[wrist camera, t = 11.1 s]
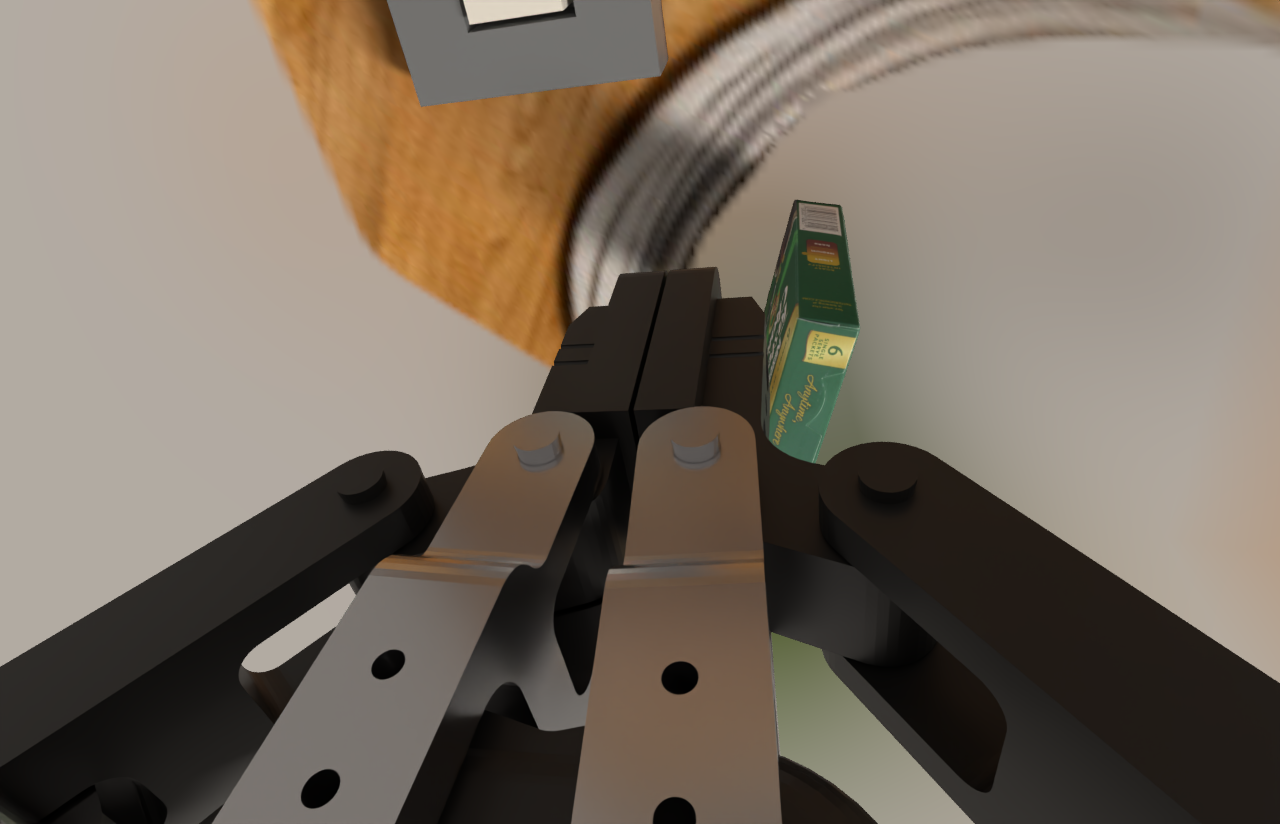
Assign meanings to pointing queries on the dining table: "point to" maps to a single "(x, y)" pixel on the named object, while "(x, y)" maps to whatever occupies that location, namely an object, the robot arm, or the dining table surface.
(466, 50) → the button panel
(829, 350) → the coffee box
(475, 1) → the button cream
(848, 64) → the dining table surface
